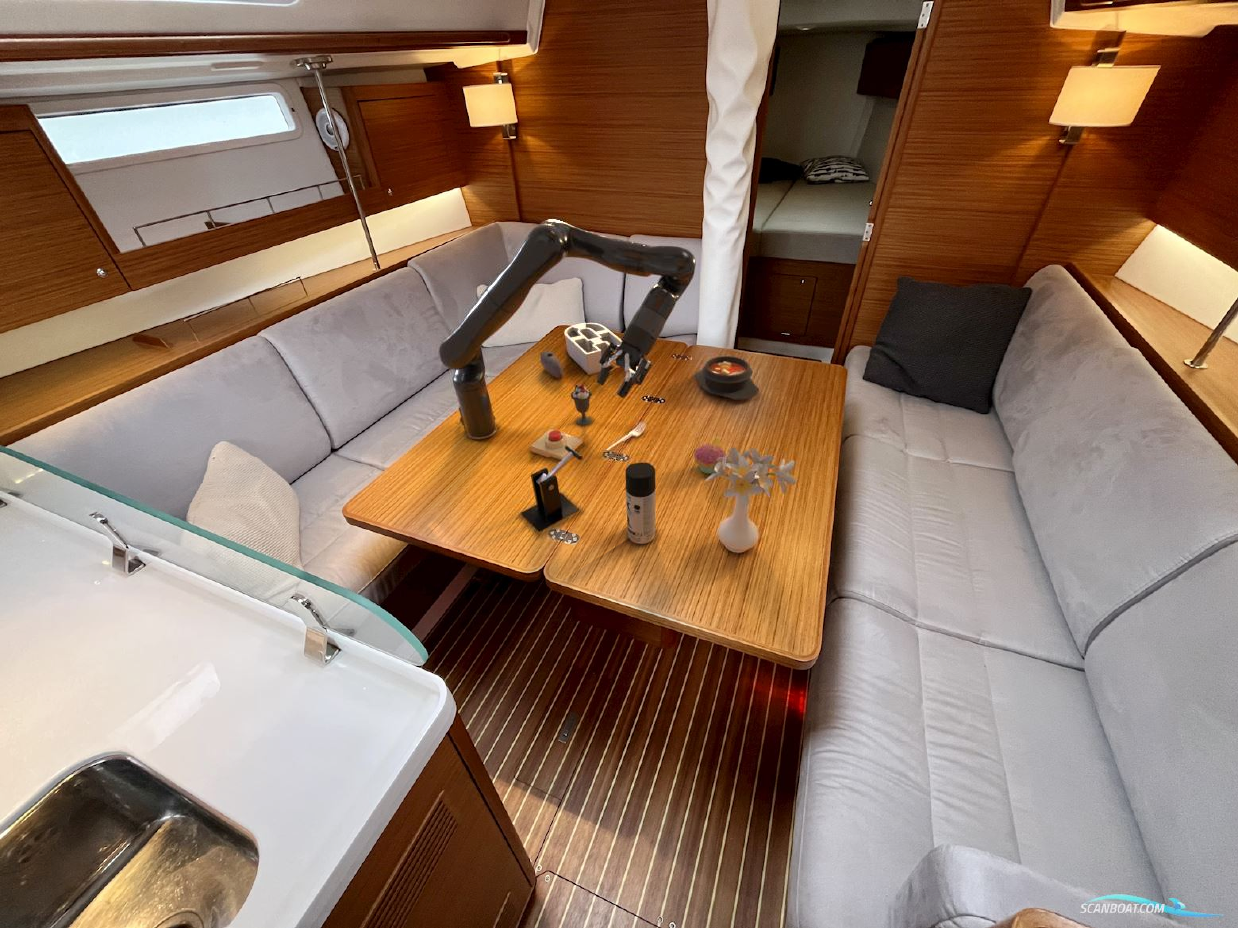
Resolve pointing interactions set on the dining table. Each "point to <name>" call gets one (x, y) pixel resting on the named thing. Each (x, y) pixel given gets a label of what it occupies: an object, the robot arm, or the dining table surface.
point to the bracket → (548, 503)
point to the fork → (631, 434)
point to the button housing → (555, 445)
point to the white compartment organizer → (589, 344)
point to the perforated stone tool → (551, 364)
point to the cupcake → (708, 456)
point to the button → (555, 436)
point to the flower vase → (746, 494)
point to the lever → (560, 464)
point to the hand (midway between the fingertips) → (609, 390)
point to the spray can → (640, 502)
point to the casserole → (727, 378)
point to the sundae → (582, 403)
